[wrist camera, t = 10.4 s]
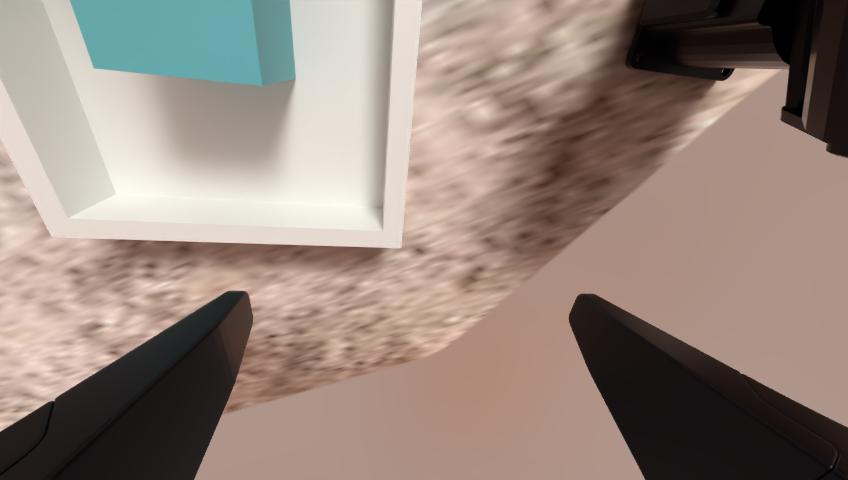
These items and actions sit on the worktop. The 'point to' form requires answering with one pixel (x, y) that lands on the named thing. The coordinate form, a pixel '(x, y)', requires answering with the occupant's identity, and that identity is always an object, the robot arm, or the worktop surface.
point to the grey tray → (216, 133)
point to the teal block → (191, 38)
